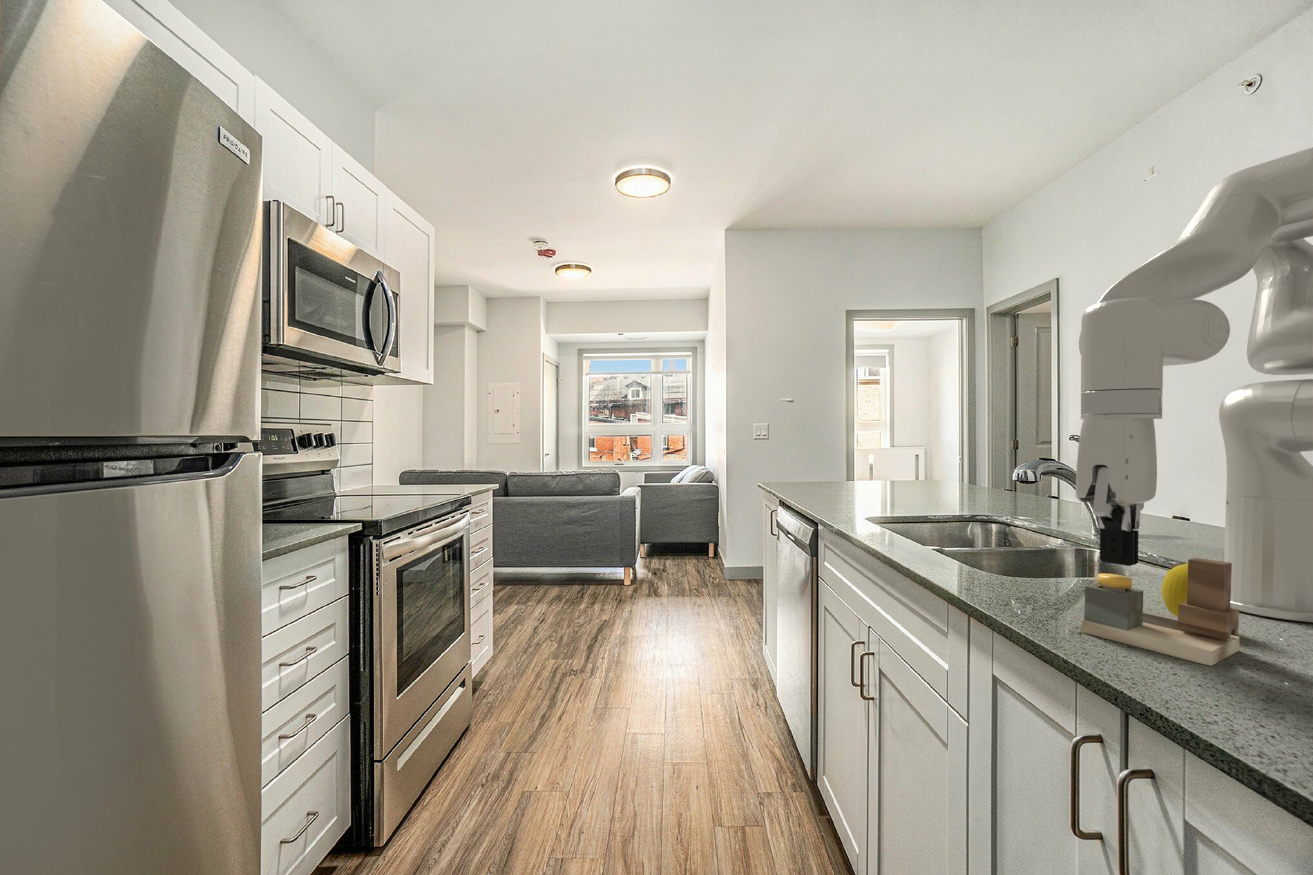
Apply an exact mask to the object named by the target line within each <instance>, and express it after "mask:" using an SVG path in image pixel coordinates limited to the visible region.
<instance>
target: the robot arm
mask: <svg viewBox="0 0 1313 875" xmlns="http://www.w3.org/2000/svg"><path fill="white" fill-rule="evenodd" d="M1310 237H1313V147H1308V148H1307V149H1303V150H1300V151H1296V152H1294V153H1291V154H1290V153H1289V154H1287V155H1283V156H1281V157H1278V158H1274V159H1272V160H1268V161H1265V162H1262V163H1259V164H1256V165H1253V166H1249V167H1246V168H1244V169H1241V170H1238V171H1236V172H1233V173H1232V174H1229V175H1227V176H1226V177H1224V178H1222V179H1221V180H1220V181H1218V183H1216V184H1215V186H1213V187H1212V189H1211V190H1210V191H1209V193H1208V194H1207V195H1206V197H1205V198H1204V199H1203V201H1202V203H1201V204H1200V205H1199V207H1198V208H1197V210H1196V211H1195V213H1194V215H1193V216H1192V217H1191V219H1190V221H1189V222H1188V224H1187V225H1186V227H1185V228H1184V229H1183V231H1182V232H1181V234H1180V235H1179V237H1178V238H1177V240H1176V242H1175V243H1174V244H1172V245H1171V246H1169V247H1168V248H1166V249H1163V250H1162V251H1161V252H1159V253H1158V254H1156V255H1154V256H1153V257H1152V258H1150V259H1148V260H1147V261H1146V262H1144V263H1143V264H1141V265H1140V266H1138V267H1137V268H1135V269H1133V270H1132V271H1130V272H1129V273H1128V274H1126V275H1125V276H1123V277H1122V278H1120V279H1119V280H1118V281H1116V282H1115V283H1114V284H1112V285H1111V286H1110V287H1109V288H1108V289H1107V290H1106V291H1105V292H1104V293H1103V295H1101V297H1100V298H1099V300H1098V301H1097V302H1096V303H1093V304H1091V305H1089V307H1087V308H1085V310H1084V312H1083V313H1082V316H1081V324H1080V325H1081V327H1080V328H1081V329H1080V333H1079V338H1078V348H1079V349H1078V350H1079V354H1080V420H1082V424H1081V429H1080V432H1079V440H1078V449H1077V457H1076V458H1077V462H1076V475H1075V476H1076V477H1075V497H1076V499H1077V500H1078V501H1079V502H1080V503H1091V502H1093V507H1092V513H1093V515H1094V516H1096V517H1098V528H1099V535H1100V536H1099V559H1100V562H1103V563H1108V564H1113V565H1114V564H1115V565H1119V566H1120V565H1121V566H1125V567H1131V566H1134V565H1137V564H1138V563H1139V528H1140V525H1141V523H1140V522H1141V511H1142V510H1143V509H1144V507H1145V503H1147V502H1149V501H1151V500H1153V499H1154V498H1155V496H1156V493H1157V482H1158V481H1157V480H1158V479H1157V478H1158V476H1157V475H1158V460H1157V454H1158V453H1157V440H1156V428H1155V420H1162V419H1163V389H1164V388H1163V387H1164V382H1163V380H1164V367H1167V366H1168V367H1169V366H1179V365H1189V364H1195V363H1200V362H1203V361H1206V360H1208V359H1211V358H1213V357H1214V356H1216V355H1217V354H1219V353H1220V352H1221V351H1222V350H1223V348H1224V347H1225V346H1226V344H1227V343H1228V340H1229V337H1230V334H1231V325H1230V321H1229V318H1228V317H1227V316H1228V315H1226V313H1225V312H1224V310H1222V309H1221V308H1220V307H1219V306H1217V305H1216V304H1214V303H1212V302H1210V301H1206V300H1202V299H1199V298H1201V297H1203V296H1207V295H1208V294H1211V293H1213V292H1215V291H1218V290H1220V289H1223V288H1225V287H1226V286H1229V285H1230V284H1233V283H1234V282H1237V281H1238V280H1240V279H1241V278H1243V277H1245V275H1247V274H1248V273H1249V272H1250V271H1251V270H1253V273H1254V275H1255V277H1256V294H1255V299H1254V306H1253V311H1252V316H1251V322H1250V326H1249V333H1248V338H1247V343H1246V344H1247V345H1246V357H1247V363H1248V364H1249V366H1250V367H1251V368H1252V369H1253V370H1254V371H1256V372H1258V373H1261V374H1264V375H1271V376H1297V375H1298V376H1299V375H1313V244H1312V243H1310V242H1308V240H1306V238H1310ZM1218 419H1219V425H1220V430H1221V435H1222V438H1223V439H1222V440H1223V446H1224V451H1225V460H1226V462H1225V463H1226V494H1225V497H1226V498H1225V522H1224V523H1225V524H1224V525H1225V526H1224V528H1225V529H1224V530H1225V531H1224V556H1223V557H1224V558H1223V559H1224V561H1223V562H1229V563H1232V573H1231V607H1233V608H1239V612H1243V613H1247V614H1252V615H1257V616H1260V617H1267V618H1268V617H1269V618H1273V619H1279V620H1286V621H1287V620H1288V621H1296V622H1303V623H1304V622H1305V623H1313V465H1312V464H1311V463H1310V462H1309V461H1308V460H1307V459H1306V458H1305V457H1304V456H1303V454H1302V453H1301V452H1313V378H1306V379H1287V380H1286V379H1285V380H1271V381H1270V380H1268V381H1262V382H1261V381H1260V382H1254V383H1248V384H1246V385H1242V386H1239V387H1237V388H1235V389H1233V390H1231V391H1230V392H1228V393H1226V395H1225V396H1224V397H1223V399H1222V400H1221V402H1220V404H1219V409H1218Z"/></svg>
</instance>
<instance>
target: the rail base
mask: <svg viewBox="0 0 1313 875" xmlns="http://www.w3.org/2000/svg"><path fill="white" fill-rule="evenodd" d="M1084 590H1085V591H1084V613H1083V615H1084V618H1083V619H1082V621H1081V622H1082V623H1081V633H1083V634H1087V635H1091V636H1095V637H1098V638H1102V639H1107V640H1110V641H1115V642H1119V643H1122V644H1125V645H1129V646H1132V647H1136V648H1140V649H1145V650H1148V651H1153V652H1156V653H1159V654H1163V655H1167V656H1171V657H1175V658H1179V659H1182V660H1186V661H1190V662H1194V663H1198V664H1200V665H1201V664H1202V665H1205V666H1210V667H1211V666H1214V665H1216V664H1217V663H1219V662H1221V661H1224V660H1225V659H1227V658H1228V657H1230V656H1232V655H1233V654H1235V653H1237V652H1239V651H1240V641H1241V640H1240V636H1237V635H1235V636H1233V635H1231V631H1230V638H1229V639H1227V640H1225V639H1221V638H1217V637H1212V636H1208V635H1204V634H1199V633H1195V632H1191V631H1186V630H1182V629H1178V628H1179V622H1178V617H1174V616H1169V615H1165V614H1160V613H1154V612H1151V611H1145V610H1144V590H1142V589H1136V588H1133V587H1132V588H1130V589H1125V592H1123V593H1122V592H1117V591H1112V590H1107V589H1103V585H1100V584H1098V583H1097V582H1096V583H1094V584H1089V585H1085V586H1084Z"/></svg>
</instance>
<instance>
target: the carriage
mask: <svg viewBox="0 0 1313 875" xmlns="http://www.w3.org/2000/svg"><path fill="white" fill-rule="evenodd" d="M1187 562H1188V585H1187V601H1186V602H1183V603H1180V604H1179V605H1178V617H1177V618H1178V622H1179V628H1178V629H1182V630H1186V631H1191V632H1195V633H1199V634H1204V635H1208V636H1212V637H1217V638H1221V639H1225V640H1227V639H1229V638H1230V631H1231V635H1233V636H1237V635H1238V634H1239V626H1240V625H1239V620H1240V611H1239V608H1233V607H1231V573H1232V563H1229V562H1224V561H1220V560H1215V559H1208V558H1202V557H1201V558H1200V557H1193V558H1189V559H1188V560H1187Z"/></svg>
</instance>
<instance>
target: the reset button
mask: <svg viewBox="0 0 1313 875" xmlns="http://www.w3.org/2000/svg"><path fill="white" fill-rule="evenodd" d="M1096 575H1097V577H1096V584H1097V583H1098V584H1100V585H1103V589H1107V590H1112V591H1117V592H1122V593H1123V592H1125V589H1130V588H1132V589H1133V587H1132V586H1133V585H1132V584H1133V578H1131V577H1130V576H1126V575H1121V574H1117V573H1097V574H1096Z"/></svg>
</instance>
